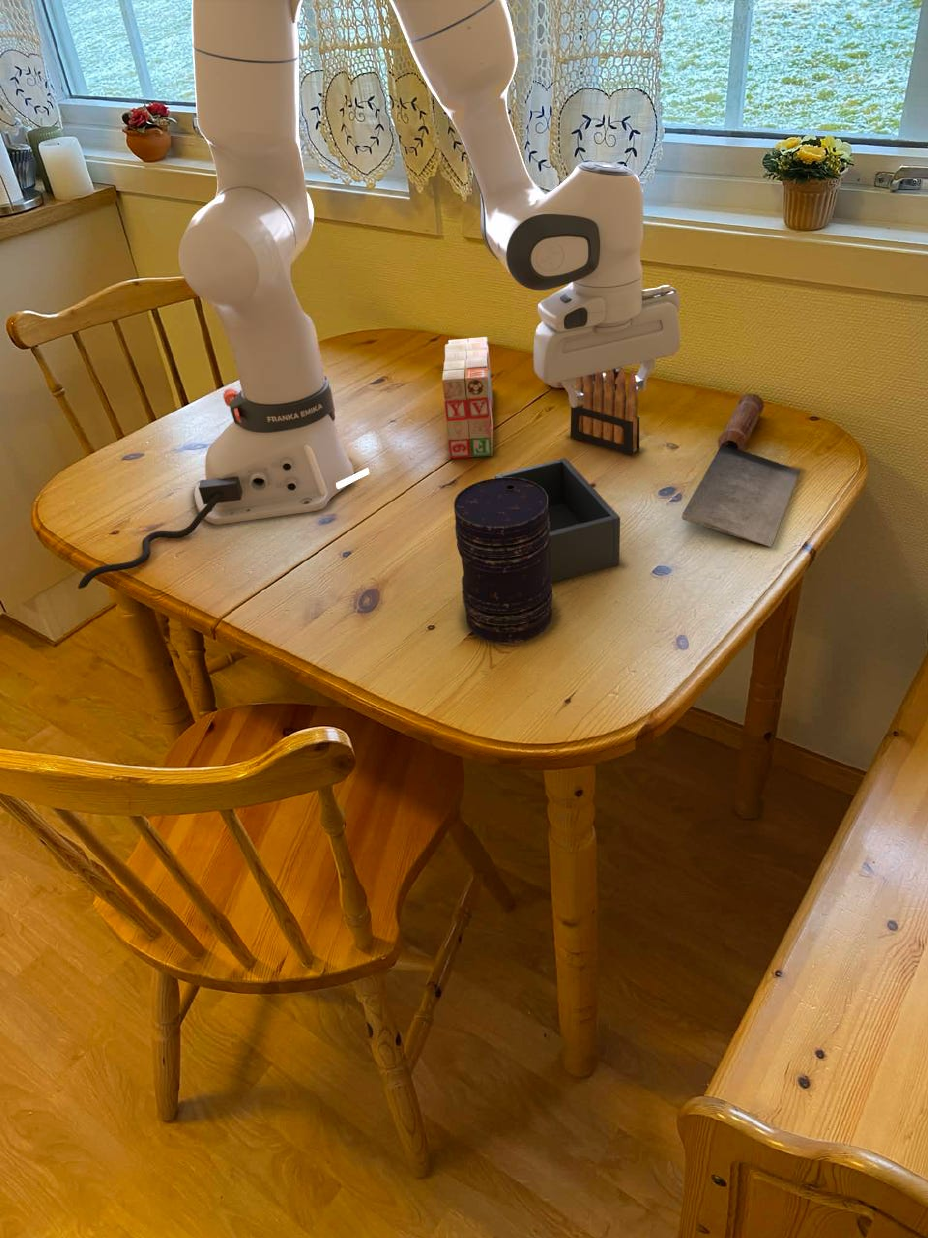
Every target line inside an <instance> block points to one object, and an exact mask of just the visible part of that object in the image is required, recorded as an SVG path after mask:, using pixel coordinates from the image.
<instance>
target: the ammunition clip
mask: <svg viewBox="0 0 928 1238" xmlns="http://www.w3.org/2000/svg"><path fill="white" fill-rule="evenodd" d="M618 370H619V373H618V377H617V378H616V384H617V388H616V391H615V385H614V373H613V370H608V371H606V385H604V376H603V372H600V373H596V374H595V388H594V382H593V374H592V375H588V376H585V378H583V377H579V378H576V385H574V386H572V387H573V389H574V390H579V391H580V393H582V394H583V395H584V399H583V402H584V405H583V406H579V407H576V408H573V407H572V406H571V405H570V434H569V435H570V438H572V439H576V440H579V441H582V442H585V443H588V444H591V445H595V446H598V447H602V448H605V449H608V450H611V451H615V452H618V453H621V454H625V455H627V456H631V457H633V456H634V455H635V454H637V453H639V451H640V417H639V416H638V413H639V410H638V409H639V399H638V392H637V382H636V376H637V375H636V372H635V371H634V370H632V371H631V372H630V374H629V377H628V383H627V388H626V376H625V371H624V369H623V367H621V368H619V369H618ZM626 391H627V392H626Z"/></svg>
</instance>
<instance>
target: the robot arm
mask: <svg viewBox="0 0 928 1238" xmlns="http://www.w3.org/2000/svg"><path fill="white" fill-rule="evenodd" d="M389 2H390V4H391V6H392V8H393V10H394V13H395V15H396V17H397V20H398V23H399V25H400V27H401V30H402V32H403V34H404V37H405V40H406V43H407V45H408V47H409V50H410V53H411V55H412V56H413V57H412V58H413V59H414V61H415V63H416V65H417V67H418V69H419V71H420V73H421V75H422V77H423V79H424V81H425V82H426V84H427V86H428V88H429V90H430V91H431V93H432V94H433V96H434V97H435V98H436V100H437V102H438V103H439V105H440V106H441V107H442V109H443V110H444V112H445V113H446V114H447V116H448V117H449V119H450V120H451V122H452V123H453V125H454V127H455V129H456V130H457V133H458V135H459V138H460V141H461V143H462V146H463V149H464V151H465V154H466V157H467V160H468V163H469V165H470V167H471V170H472V173H473V176H474V179H475V182H476V184H477V187H478V190H479V196H480V230H481V237H482V240H483V243H484V245H485V247H486V249H487V251H488V252H489V253H490V254H491V256H492V257H493V258H495V259H496V260H497V261H498V262H500V264H501V265H502V266H503V268H504V269H505V270H506V271H507V272H508V273H509V274H510V276H511V277H512V278H513V279H514V280H515V281H516V282H517V283H518V284H519V285H520V286H522V287H524V288H526V289H528V290H531V291H537V292H538V291H541V292H542V291H549V290H552V289H556V288H559V287H562V286H565V285H566V286H565V287H563V288H561V289H560V290H558V291H556V292H554V293H553V294H551V295H549V296H548V297H546V298H544V299H543V300H541V301H540V302H539V303H538V305H537V315H538V316H539V318H540V319H541V320H542V321H541V322H540V323H539V324H538V325H537V327H536V329H535V333H534V339H533V370H534V373H535V375H536V376H537V377H538V379H540V380H541V381H542V382H543V383H545V384H546V385H549V384H554V383H558V382H561V383H562V385H563V386H564V389H565V390H566V392H567V393H568V403H569V405H570V407H571V406H572V407H573V408H576V407H579V406H583V405H584V402H583V399H584V395H583V394H582V393H580V391H579V390H574V389H573V386H574V385H576V378H579V377H583V376H588V375H592V374H596V373H600V372H604V371H605V372H607V371H608V370H613V369H621V368H625V367H630V366H633V365H638V364H640V367H639V369H638V372H637V374H636V375H635V376H636V382H637V393H640V392H644V391H646V390H647V388H648V387H647V380H649V377H650V375H651V374H652V373H653V370H654V368H655V367H656V360H658V359H663V358H666V357H670V356H674V355H675V354H677V352H678V350H679V349H680V347H681V325H680V318H679V314H678V313H679V311H680V305H681V296H680V293H679V291H678V289H676V288H675V287H672V286H671V285H668V284H665V285H661V286H659V287H654V288H647V289H643V273H644V271H643V266H642V263H641V257H640V255H641V249H642V245H643V240H644V204H643V203H644V202H643V193H642V186H641V181H640V178H639V176H638V175H637V174H636V172H634V171H633V170H632V169H630V168H629V167H627V166H625V165H623V164H621V163H616V162H613V161H606V160H590V161H585V162H582V163H579V164H578V165H577V166H576V167H575V168H574V170H573V171H572V173H571V174H570V175H569V176H567V178H566V179H564V181H562V182H561V183H560V184H559V185H557V186H556V187H555V188H553V189H552V190H551V191H549V192H548V193H545V192H544V190H543V189H542V188H541V187H540V186H539V185H538V184H537V183H535V182H534V180H533V179H532V177H531V176H530V175H529V173H528V171H527V168H526V165H525V163H524V159H523V156H522V153H521V150H520V148H519V147H520V146H519V144H518V141H517V137H516V135H515V132H514V129H513V126H512V123H511V119H510V115H509V112H508V111H509V110H508V101H507V98H508V97H507V96H508V91H509V87H510V85H511V82H512V81H513V78H514V76H515V73H516V70H517V66H518V62H519V61H518V59H519V57H518V51H517V45H516V38H515V33H514V28H513V23H512V19H511V14H510V10H509V8H508V5H507V1H506V0H389ZM302 3H303V0H191V37H192V39H191V40H192V41H191V42H192V59H193V75H194V76H193V77H194V92H195V109H196V123H197V127H198V130H199V132H200V134H201V136H203V138H204V139H205V140H206V142H207V144H208V149H209V151H210V153H211V157H212V161H213V165H214V168H215V174H216V181H217V187H216V188H217V189H216V194H215V197H214V199H212V200H211V201H210V202H209V203H207V204H206V205H205V206H203V207H202V208H201V209H199V210H198V211H197V212H196V213H195V214H194V216H193V217H192V218H191V220H190V222H189V223H188V225H187V227H186V229H185V231H184V233H183V235H182V238H181V240H180V243H179V246H178V252H177V253H178V265H179V268H180V272H181V275H182V277H183V279H184V280H185V282H186V284H187V285H188V287H189V288H190V289H191V290H192V291H193V292H194V293H195V294H196V295H197V296H198V297H199V298H200V299H202V300H203V301H205V302H207V303H208V304H209V305H210V307H211V308H212V310H213V313H214V314H215V315H216V317H217V319H218V321H219V323H220V325H221V327H222V329H223V331H224V333H225V335H226V338H227V341H228V343H229V347H230V350H231V355H232V358H233V362H234V366H235V370H236V373H237V378H238V381H239V384H240V389H241V390H240V391H237V390H236V389H235V388H231V387H230V388H227V389H225V390H224V393H223V394H222V395H223V400H224V404H225V405H226V406H227V407H229V408H230V413H231V417H232V419H233V421H232V422H230V424H229V425H228V426H227V427H226V428H225V429H224V431H223V432H222V433H221V434H220V435H219V436H217V437H216V438H215V440H214V441H212V442H211V443H210V444H209V446H208V448H207V451H206V454H205V461H204V474H202V475H201V476H200V477H199V479H198V480H197V482H196V483H195V486H194V493H193V494H194V501H195V505H196V509H197V511H198V514H197V515H196V516H195V517H194V519H193V520H192V522H191V523H190V524H189V525H188V526H187V527H185V528H183V529H180V530H155V531H152V532H150V533H149V534H147V535H146V536H145V537H144V538H143V539H142V542H141V548H142V553H141V555H140V556H138V557H137V558H135V559H132V560H129V561H125V562H118V563H111V564H105V565H101V566H97V567H95V568H93V569H91V570H89V571H88V572H87V573H86V574H85V575H84V576H83V577H82V578H81V580H80V582H79V584H78V586H77V587H78V588H77V589H78V590H81V589H82V590H83V589H85V588H86V587H88V585H89V583H91V581H92V580H93V579H94V578H96V577H97V576H99V575H103V574H106V573H112V572H119V571H126V570H130V569H134V568H137V567H139V566H141V565H142V564H144V563H145V562H147V560H148V559H149V558H150V556H151V549H150V543H151V542H153V541H154V540H156V539H160V538H166V539H167V538H168V539H179V538H184V537H187V536H189V535H190V534H192V533H193V532H194V531H195V530H196V529H198V527H199V526H200V525H201V523H202V521H204V520H205V521H206V522H208V523H210V524H212V525H216V526H217V525H225V524H232V523H239V522H247V521H254V520H260V519H268V518H275V517H282V516H289V515H295V514H304V513H311V512H316V511H320V510H322V509H324V508H325V507H326V506H327V505H328V504H329V502H330V501H331V499H332V498H333V497H334V496H335V495H337V494H338V493H341V491H343V490H344V489H346V488H347V486H348V485H350V484H351V483H354V482H355V481H357V480H359V479H362V478H363V477H365V476H367V475H370V470H369V468H365V469H363V470H360V471H358V472H356V473H355V468H354V465H353V463H352V462H351V461H350V458H349V457H348V454H347V452H346V449H345V448H344V445H343V443H342V439H341V436H340V434H339V431H338V428H337V425H336V413H335V412H336V409H335V408H336V407H335V402H334V396H333V392H332V386H331V384H330V381H329V380H328V378H327V376H326V375H325V373H324V365H323V362H322V361H323V360H322V357H321V351H320V345H319V339H318V335H317V330H316V326H315V323H314V321H313V319H312V318H311V317H310V315H308V314H306V313H305V311H304V310H303V308H302V306H301V303H300V301H299V299H298V297H297V295H296V294H297V293H296V292H295V290H294V287H293V284H292V283H293V282H292V278H291V266H292V265H293V263H294V262H295V261H296V259H298V258H299V256H301V254H303V252H304V250H305V249H306V247H307V246H308V243H309V240H310V238H311V235H312V230H313V226H314V220H315V210H314V205H313V202H312V199H311V197H310V194H309V193H308V190H307V189H308V188H307V181H306V175H305V169H304V163H303V157H302V151H301V144H300V129H299V125H300V124H299V79H300V78H299V70H300V68H299V65H300V64H299V63H300V62H299V61H300V57H299V52H300V51H299V47H300V46H299V43H300V42H299V40H300V39H299V31H300V29H299V27H300V15H301V14H300V13H301V7H302Z"/></svg>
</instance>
